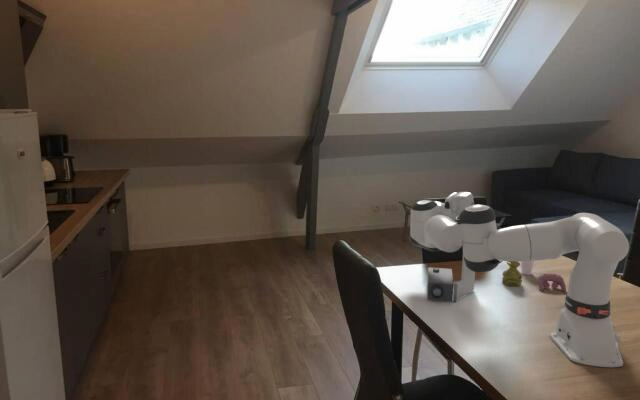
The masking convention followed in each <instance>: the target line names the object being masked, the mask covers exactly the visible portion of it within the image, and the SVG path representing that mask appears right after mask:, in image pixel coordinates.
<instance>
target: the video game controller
mask: <svg viewBox="0 0 640 400" xmlns="http://www.w3.org/2000/svg"><path fill="white" fill-rule="evenodd" d="M536 279H537V280H536V281H537V283H538V288H539V290H540V291H541V292H543V291H544V289H549V288H550V286H551V288H552V289H557V288H558V287H560V288H561V290H562V291H563V292H566V290H567V287H566V283H565V279H564V278H563V277H562V276H561V275H560V274H556V273H549V272H547V273H543V274H540V275H539V276H537V277H536ZM549 282H551V284H550V283H549Z"/></svg>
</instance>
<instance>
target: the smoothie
mask: <svg viewBox="0 0 640 400" xmlns="http://www.w3.org/2000/svg"><path fill="white" fill-rule="evenodd" d="M534 263H535V261H520V266H521V274H522V275H527V276H530V275H531V274H532V271H533V268H534Z"/></svg>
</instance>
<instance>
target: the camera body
mask: <svg viewBox="0 0 640 400" xmlns="http://www.w3.org/2000/svg"><path fill="white" fill-rule="evenodd" d="M453 276H454V275H453V269H452V268H443V267H442V268H441V267H430V266H429V267H428V268H427V288H426V290H427V295H426V296H427V299H426V300H427V301H433V300H435V302H448V303H454V302H453V293H454V283H455V282H454V278H453Z"/></svg>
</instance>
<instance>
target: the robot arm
mask: <svg viewBox="0 0 640 400" xmlns="http://www.w3.org/2000/svg"><path fill="white" fill-rule="evenodd" d="M409 219H410V223H409V224H410V230H409V242H410V243H411V244H412V245H413V246H414V247H418V248H422V249H424V250H426V251H429V252H440V251H442V252H446V253H454V252H457V251H459V250H460V249H461V248H462V253H463V252H464V256H465V257H464V261H465V264H466V266H467V268H469V269H470V270H472V271H474V272H475V273H487V272H491V271H493V270H494V269H496V268H497V267H498V266H499V264H501V263H503V262H508V261H518V262H521V261H534V262H535V261H545V260H556V259H559V258H560V257H561V256H563V255H565V254H569V253H573V252H578V257H577V260H576V262H575V265H574V266H573V267H572V268H571V269H570V272H569V281H568V286H567V292H566V295H565V298H564V307H563V308H562V309H561V310H560V311H559V312H558V316H557V320H556V327H555V331H552V332H551V333H549V338H550V339H551V341H553V343H554V344H555V345H556V346H557V347H558V349H560V350H561V351H562V353H564V355H565V356H566V357H567V358H568V359H569V360H570V361H572V362H575V363H578V364H581V365H586V366H592V367H600V368H601V367H602V368H619V367H624V361H623V358H622V354H621V351H620V348H619V344H618V343H620V342H621V334H618V333H615V332H614V330H616V324H613V321H612V316H611V301H610V295H611V289H612V283H613V276H614V274H615V271H616V269H617V267H618V265H619V262H620V261H622V260H623V259H624V258H626V256H627V255H628V252H629V250H630V243H629V240H628V238H627V237H626V235H625V234H624V232H623V231H622V230H621V229H620V228H619V227H618V226H616V225H614V224H613V223H611V222H609V221H607V220H605V218H602V217H601V216H599V215H597V214H595V213H589V212H578V213H576V214H573V215H572V216H568V217H565V218H562V219H558V220H554V221H553V220H552V221H547V222H546V221H545V222H536V223H527V224H518V225H512V226H511V225H510V226H507V227H503V228H499V229H498V227H497V222H496V219H497V218H496V214H495V211H494V209H493V208H492V207H490V206H489V205H485V204H475V201H474V195H473V194H472V193H471V192H468V191H458V192H456V191H455V192H452V193H450V194H449V195H448V196H447V197H446V198H445V201H444V202H441V201H439V200H438V201H437V200H432V199H431V200H430V199H419V200H416V202H414V203H413V204H412V205H411V207H410V218H409Z"/></svg>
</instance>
